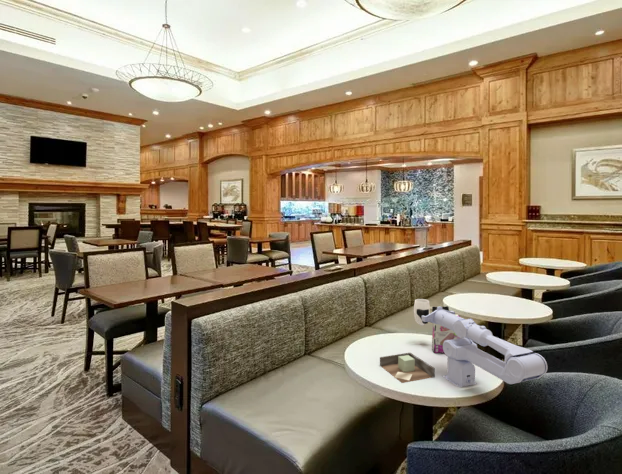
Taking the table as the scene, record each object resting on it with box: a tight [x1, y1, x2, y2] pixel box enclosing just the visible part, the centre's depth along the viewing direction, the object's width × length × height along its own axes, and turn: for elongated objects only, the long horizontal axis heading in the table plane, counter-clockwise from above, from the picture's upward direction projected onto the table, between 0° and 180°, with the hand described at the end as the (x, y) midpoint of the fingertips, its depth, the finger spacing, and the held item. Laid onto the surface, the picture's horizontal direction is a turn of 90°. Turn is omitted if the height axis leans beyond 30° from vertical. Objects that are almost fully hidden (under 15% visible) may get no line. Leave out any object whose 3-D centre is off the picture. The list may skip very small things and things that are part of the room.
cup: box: [413, 298, 431, 327], centre depth 174 cm, size 7×7×21 cm
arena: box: [379, 352, 436, 384], centre depth 146 cm, size 16×14×4 cm
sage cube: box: [398, 355, 415, 372], centre depth 148 cm, size 4×4×4 cm
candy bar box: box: [431, 313, 461, 354], centre depth 166 cm, size 11×5×16 cm, turn 84°
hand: (425, 310), depth 156 cm, fingers open, 7 cm apart
